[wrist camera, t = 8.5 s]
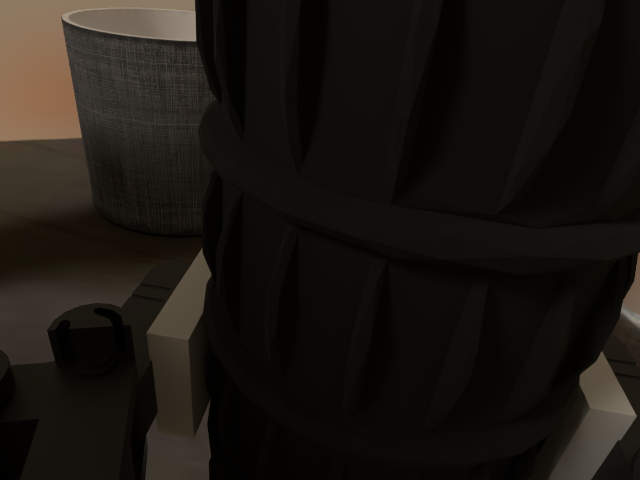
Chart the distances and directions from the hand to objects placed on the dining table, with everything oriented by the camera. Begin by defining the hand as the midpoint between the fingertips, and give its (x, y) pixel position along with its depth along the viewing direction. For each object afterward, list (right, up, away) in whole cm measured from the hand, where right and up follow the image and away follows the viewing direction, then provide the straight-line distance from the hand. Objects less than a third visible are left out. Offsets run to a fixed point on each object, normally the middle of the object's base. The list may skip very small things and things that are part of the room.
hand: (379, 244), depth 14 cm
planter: (-19, +6, +46) cm, 50 cm away
